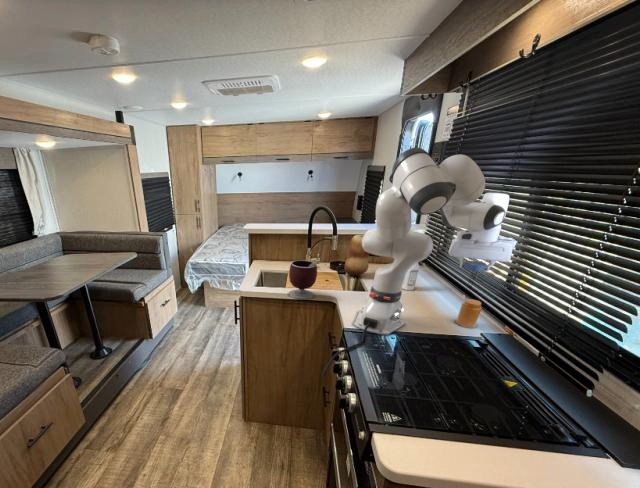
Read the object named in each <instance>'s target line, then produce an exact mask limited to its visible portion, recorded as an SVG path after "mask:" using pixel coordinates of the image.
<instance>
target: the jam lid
mask: <svg viewBox="0 0 640 488" xmlns="http://www.w3.org/2000/svg"><path fill="white" fill-rule="evenodd" d="M464 263H465V266H464V268H463V269H466V270H468V271H474V272H484V270H485V268H486V266H487V263H485V262H482V261H477V260H466V261H465V262H464Z"/></svg>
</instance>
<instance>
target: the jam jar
mask: <svg viewBox="0 0 640 488" xmlns="http://www.w3.org/2000/svg"><path fill="white" fill-rule="evenodd" d="M481 306H482V302H481V301H480V300H477V299H472V298H466V299H464V301H463V302H462V303H461V305H460V308H459V310H458V315H457V318H456V321H455V322H456V324H457V325H458V326H461V327H464V328H469V329H473V328H475V327H476V326H477V323H478V319H479V318H480V314H481V311H482V309H483V308H482V307H481Z"/></svg>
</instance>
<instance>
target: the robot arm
mask: <svg viewBox="0 0 640 488" xmlns="http://www.w3.org/2000/svg"><path fill="white" fill-rule="evenodd" d="M391 170H392V171H391V174H390V176H389V178H388V181H389V182H390V184H392V185H391V187H390V188H387V189H385V190H384V191H382V192H381V193H380V194H379V196H378V197H377V200H376V205H375V221H376V226H375V227H374V228H370V229H368V230H367V231H366V232H365V233H364V234H363V235H364V236H363V239H362V247H363V249H364V251H366V252H368V253H369V254H371V255H374V256H378V257H379V256H380V257H385V258H392V259H393V262H391V263H387V264H383V265H381V266H379V267H378V268H376V270H375V272H374V276H373V277H374V278H373V283H372V286H371V288H370V290H369V295H368V296H366V300H365V303H364V306H363V307H362V309H360V310H358V311H359V312H358V314H357V316H356V318H355V321H354V326H355V327H357V328H359V329H360V330H363V331H362V335H361V340H360V341H359V342H357V343H355V344H353V345H350V346H348V347H345V348H342V349H341V350H339V351H337V352H335V354H333V355H332V357H331V358H330V360H329V361H328V363H327V364H326V365H325V367H324V369H323V371H322V374H321V377H322V378H324V377H325V376H326V374H327V371H328V369H329V368H330V366H331V365H332V364H333V361H334V360H335V359H336V357H338V356H339V355H341V354H342V353H344V352H347V351H349V350H352V349H354V348H356V347H359V346H361V345H362V344H363V343H364V341H365V335H366V333H367V332H368V333H373V334H377V335H382V336H389V335H390V334H392V333H393V332H395V331H396V330H398V329H399V328H401V327H402V326H404V324H405V321H404V320H402V319H401V317H402V313H403V311H404V310H405V309H404V308H403V307H404V305H403V303H402V302H401V298H402V295H403V291H402V290H403V289H402V284H403V281H404V278H405V275H406V273H407V271H408V270H409V269H410V268H411V267H412V266H413V265H414V264H416V263H417V262H418V263H420V262H422V261H424V260H425V259H427V258H428V257H429V256H430V255H431V253H432V252H433V248H434V241H433V239H432V236H430V235H428V234H426V233H422V232H420V231H413V230H411V228H412V211H413V212H414V213H415V214H417V215H420V216H424V215H425V216H426V215H431V214H434V213H437V212H438V211H440V220H441V222H442V224H443V225H444V226H445V227H450V228H461V229H462V228H463V229H465V230H460V231H458V232H457V233H456V237H455V238H454V239H453V240H452V242H451V243H450V246H449V248H448V249H449V250H448V255H449V256H450V257H455V258H456V257H457V258H458V260H459V263H460V265H459V268H460V269H465V268H464V266H465V262H463V260H464V259H465V258H466V259H475V260H484V261H489V262H490V263H489V264H487V265H486V268H485V270H484V271H485V272H489V271H490V268H491V267H492V266H495V264H496V262H503V263H507V262H509V261H510V260H511V258H512V254H513V249H515V247H516V245H517V240H516V239H514V238H513V237H505V236H500V233H501V230H502V223H503V222H504V220H505V219H506V216H507V211H508V208H509V203H510V195H509V194H508V193H505V192H498V191H489V192H485V193H484V191H485V189H486V178H485V176H484V174H483V172H482V169H481V168H480V166H479V165H478V164H477V162H476V161H474V160H473V159H472V158H471V157H470V156H468V155H466V154H454V155H451V156H449V157H446V158H445V159H444V160H443V161H442V162H440V164H436V162H435V161H434V160H433V158H432V157H431V154H430V153H429V152H428V151H426V149H424V148H422V147H417V146H416V147H411V148H409V149H406V150H405V151H404V152H402V153H401V154H400V155H398V157H397V158H396V160H395V162H394V163H393V166H392V169H391ZM483 193H484V195H483V197H482V198H481V201H480V202H478V201H477V200H478V199H479V198H480V197H481V196H482V194H483ZM476 201H477V202H476ZM484 271H483V272H484Z"/></svg>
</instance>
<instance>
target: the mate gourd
mask: <svg viewBox="0 0 640 488" xmlns="http://www.w3.org/2000/svg"><path fill="white" fill-rule="evenodd" d="M319 263H320V264H321V260H318V261H317V260H316V261H313V260H308V259H307V260H306V259H298V260H297V259H296V260H293V261H291V262H290V266H289V270H288V271H289V272H288V276H289V277H288V278H289V282H290V284H291V285H292V286H293V287H294V288H296V289H292V290H290V291H289V294H288V295H289V296H290V297H291V298H293V299H296V300H301V301H302V300H309V299H312V298H313V297H314V293H313V292H312V291H311V290H307V289H310V288H312V287H313V286H314V285H315V283H316V280H317V277H318V266H317V265H318V264H319Z"/></svg>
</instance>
